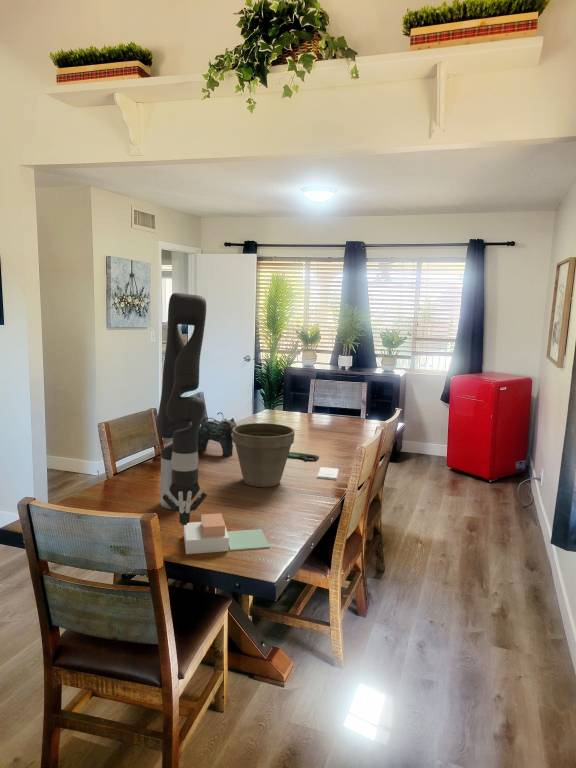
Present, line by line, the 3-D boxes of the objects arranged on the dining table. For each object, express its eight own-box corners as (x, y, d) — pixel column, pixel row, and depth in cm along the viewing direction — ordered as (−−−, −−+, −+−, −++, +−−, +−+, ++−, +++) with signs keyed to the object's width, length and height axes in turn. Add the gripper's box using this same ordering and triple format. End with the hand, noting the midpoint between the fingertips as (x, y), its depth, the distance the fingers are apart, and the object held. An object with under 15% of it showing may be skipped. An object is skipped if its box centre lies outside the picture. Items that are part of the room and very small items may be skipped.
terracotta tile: (201, 523, 154) (201, 514, 154) (221, 522, 155) (221, 513, 155) (203, 537, 145) (204, 527, 145) (224, 535, 147) (225, 525, 146)
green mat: (225, 532, 158) (225, 531, 158) (261, 530, 161) (261, 529, 161) (230, 550, 146) (230, 549, 146) (269, 547, 149) (269, 546, 149)
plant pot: (224, 473, 214) (226, 422, 210) (280, 469, 222) (282, 421, 219) (239, 494, 190) (240, 438, 187) (300, 489, 199) (303, 435, 195)
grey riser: (183, 535, 155) (184, 522, 154) (223, 532, 158) (223, 520, 157) (186, 554, 143) (186, 540, 143) (228, 550, 146) (229, 537, 146)
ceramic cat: (236, 455, 240) (238, 413, 237) (228, 458, 234) (230, 416, 232) (202, 448, 249) (203, 408, 246) (194, 451, 243) (195, 410, 241)
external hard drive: (338, 472, 224) (336, 481, 212) (319, 470, 225) (316, 479, 213) (338, 468, 224) (336, 477, 212) (320, 466, 225) (316, 475, 213)
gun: (281, 456, 238) (287, 450, 248) (281, 459, 238) (287, 453, 248) (315, 460, 234) (320, 455, 244) (315, 464, 234) (319, 457, 244)
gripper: (207, 461, 151) (206, 517, 153) (160, 463, 147) (160, 520, 150) (209, 469, 144) (208, 528, 146) (161, 471, 140) (160, 531, 142)
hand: (184, 524), depth 148 cm, fingers closed
